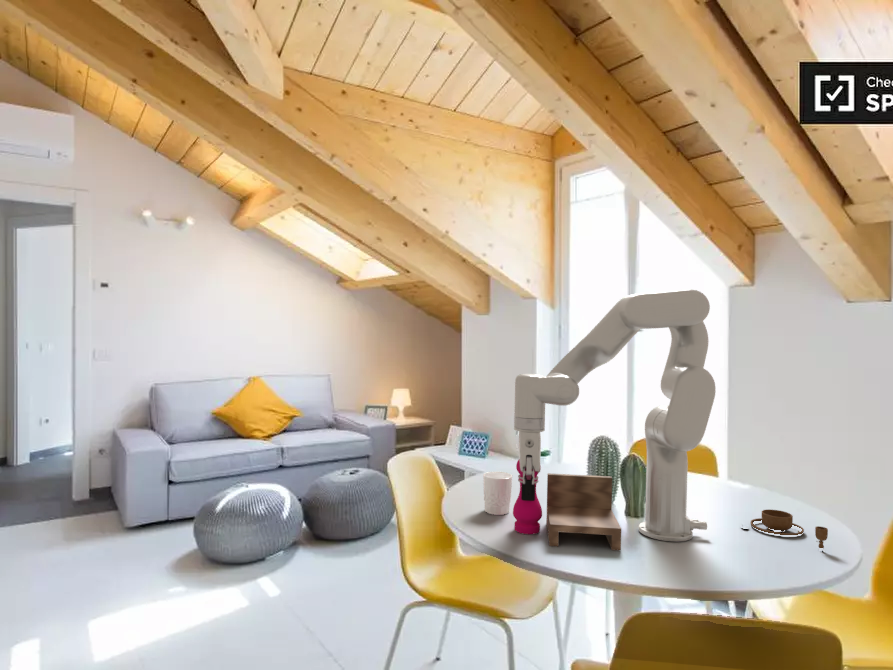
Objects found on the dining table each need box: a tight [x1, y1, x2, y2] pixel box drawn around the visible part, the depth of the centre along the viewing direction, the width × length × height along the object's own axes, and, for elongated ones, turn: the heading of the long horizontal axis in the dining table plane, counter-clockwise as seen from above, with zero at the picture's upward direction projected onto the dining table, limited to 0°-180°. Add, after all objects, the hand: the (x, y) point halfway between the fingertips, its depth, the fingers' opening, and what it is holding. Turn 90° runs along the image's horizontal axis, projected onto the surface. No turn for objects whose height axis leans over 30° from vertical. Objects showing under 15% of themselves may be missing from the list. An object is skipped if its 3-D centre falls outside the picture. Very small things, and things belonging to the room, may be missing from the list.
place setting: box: [750, 509, 829, 549], centre depth 147 cm, size 18×20×6 cm
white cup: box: [482, 471, 513, 516], centre depth 162 cm, size 8×8×10 cm
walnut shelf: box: [545, 472, 622, 551], centre depth 144 cm, size 16×16×13 cm
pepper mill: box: [512, 455, 543, 535], centre depth 147 cm, size 7×7×20 cm
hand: (527, 495), depth 147 cm, fingers open, 5 cm apart
